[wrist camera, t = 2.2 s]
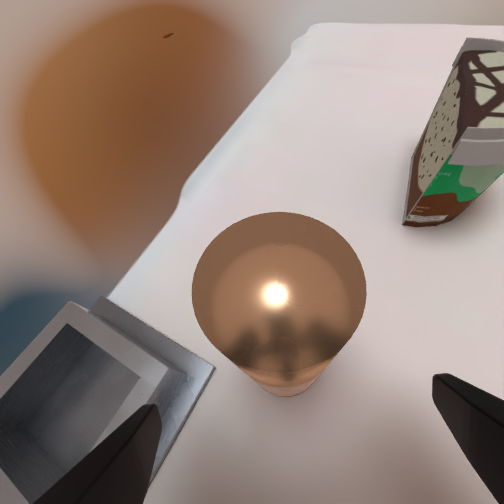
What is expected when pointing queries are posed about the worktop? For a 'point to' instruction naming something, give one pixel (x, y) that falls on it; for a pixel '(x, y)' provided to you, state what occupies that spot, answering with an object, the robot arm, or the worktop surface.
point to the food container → (460, 138)
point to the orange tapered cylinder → (279, 297)
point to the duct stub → (88, 393)
